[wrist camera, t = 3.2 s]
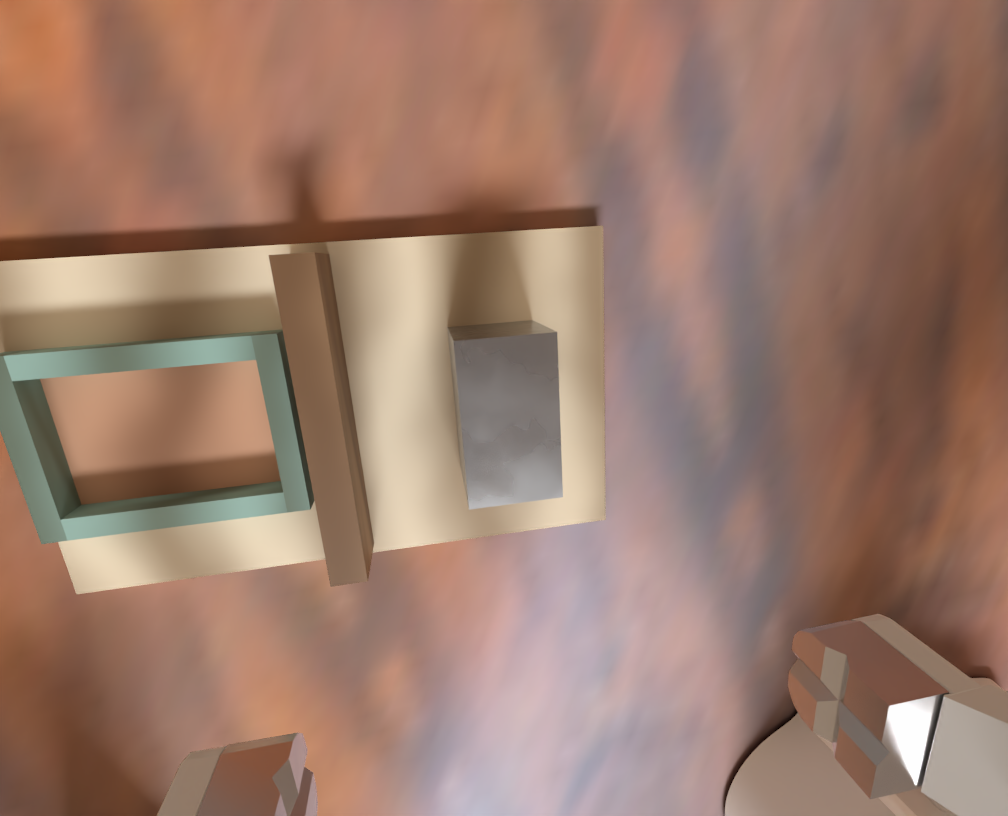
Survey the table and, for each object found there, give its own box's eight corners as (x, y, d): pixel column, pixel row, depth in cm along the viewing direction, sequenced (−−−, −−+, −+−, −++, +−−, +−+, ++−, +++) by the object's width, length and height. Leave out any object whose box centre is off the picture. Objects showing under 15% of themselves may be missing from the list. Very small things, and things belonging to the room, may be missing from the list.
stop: (532, 320, 24) (557, 332, 19) (539, 458, 26) (562, 497, 21) (447, 327, 23) (453, 341, 19) (460, 468, 25) (468, 509, 21)
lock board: (597, 227, 24) (631, 219, 20) (600, 512, 28) (628, 551, 24) (-24, 263, 20) (-127, 263, 16) (87, 584, 24) (26, 642, 21)
